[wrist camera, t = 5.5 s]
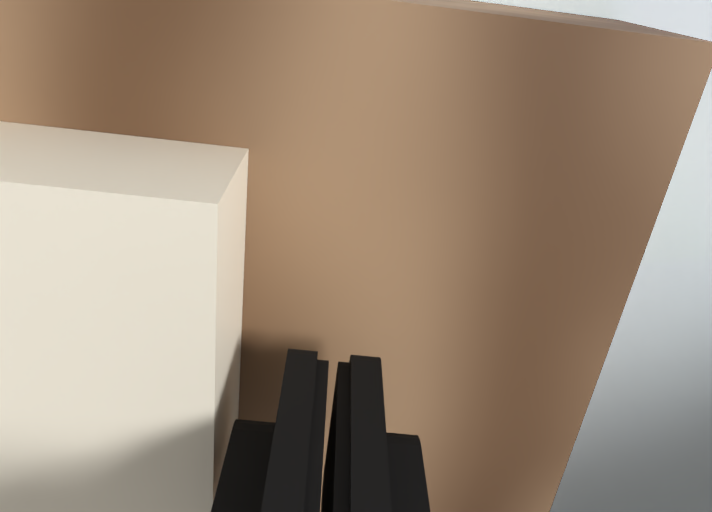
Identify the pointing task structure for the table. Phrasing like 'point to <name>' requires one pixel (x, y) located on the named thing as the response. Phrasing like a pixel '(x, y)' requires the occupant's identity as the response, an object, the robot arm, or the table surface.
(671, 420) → the table surface
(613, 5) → the table surface
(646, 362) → the table surface
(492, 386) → the brown flat block
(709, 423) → the table surface
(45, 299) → the cream rectangular block
